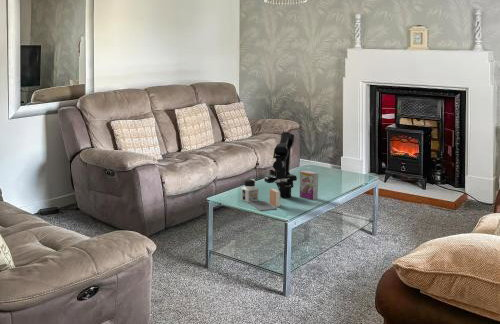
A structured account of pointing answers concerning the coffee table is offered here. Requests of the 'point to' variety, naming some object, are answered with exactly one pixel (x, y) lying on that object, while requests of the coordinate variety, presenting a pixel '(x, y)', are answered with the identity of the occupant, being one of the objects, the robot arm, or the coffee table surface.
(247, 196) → the container
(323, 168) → the coffee table surface
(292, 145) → the robot arm
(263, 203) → the mat
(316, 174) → the candy bar box
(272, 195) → the cream rectangular block
